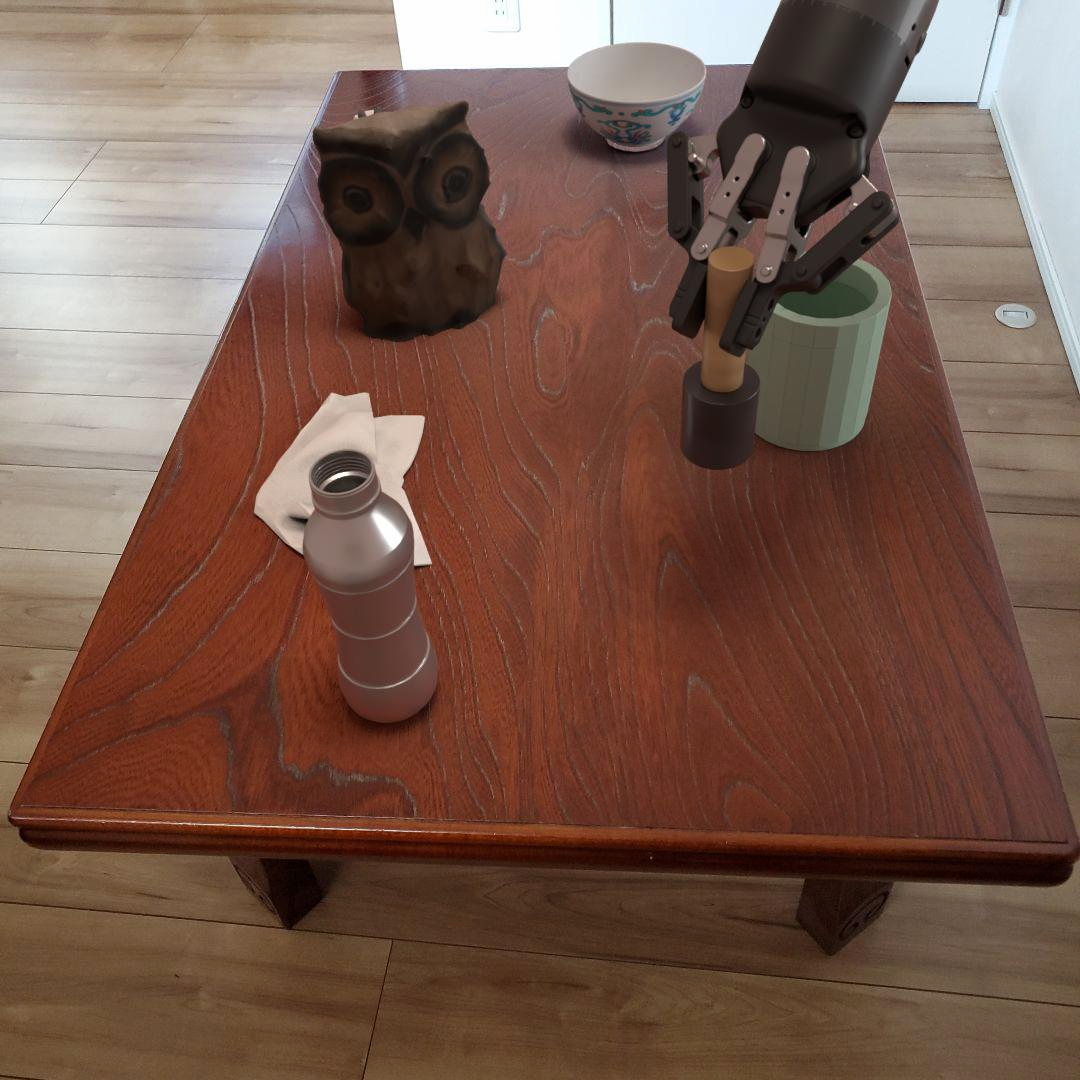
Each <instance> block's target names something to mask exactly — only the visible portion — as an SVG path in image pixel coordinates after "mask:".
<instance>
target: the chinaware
mask: <svg viewBox="0 0 1080 1080" xmlns="http://www.w3.org/2000/svg"><path fill="white" fill-rule="evenodd" d="M706 78H707V67H706V64H705V62H704V61H703V60H702V59H701V58H700V57H699V56H698V55H697V54H695V53H693V52H692V51H689V50H687V49H684V48H683V47H682V48H681V47H679V46H677V45H676V46H675V45H671V44H667V43H660V42H649V41H648V42H647V41H635V42H622V43H621V42H620V43H614V44H608V45H604V46H600V47H597V48H594V49H592V50H588V51H587V52H585V53H582V54H581V55H580V56H578V57H577V58H575V59H574V60H573V61H572V62H571V63H570V64H569V66H568V68H567V70H566V79H567V80H566V81H567V84H568V89H569V92H570V95H571V98H572V101H573V104H574V106H575V107H576V110H577V111H578V113H579V114H580V116H581V117H582V119H583V120H584V122H585V123H586V124H587V125H588V126H589V127H590V128H591V129H592V130H594V131H595V132H596V133H597V134H599V135H600V136H602V137H604V138H605V139H606V138H607V139H608V140H610V141H611V142H613V143H616V144H618V145H622V146H625V147H626V146H628V147H647V146H650V145H653V144H656V143H658V142H660V141H661V140H662V139H663V138H664V137H665V138H666V137H668V136H669V135H672V134H673V133H675V132H676V130H678V129H679V128H680V127H681V126H682V125H683V124H684V123H685V121H687V119H688V118H689V117H690V115H691V114H692V113H693V112H694V109H695V108H696V106H697V104H698V102H699V99H700V97H701V95H702V92H703V89H704V86H705V82H706Z"/></svg>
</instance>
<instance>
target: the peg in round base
mask: <svg viewBox="0 0 1080 1080" xmlns="http://www.w3.org/2000/svg"><path fill="white" fill-rule="evenodd" d="M755 263H756V261H755V256H754V254H753V253H752V252H751V251H750V250H748V249H746V248H744V247H740V246H737V247H734V246H727V247H721V248H718V249H716V250H714V251H713V252H711V254H710V255H709V257H708V270H707V286H706V302H705V318H704V321H703V335H702V351H701V360H699V361H697V362H695V363H693V364H692V365H691V366H689V367H688V368H687V369H686V371H685V373H684V374H683V377H682V391H681V393H682V394H681V395H682V396H681V414H680V435H679V448H680V451H681V454H682V455H683V456H684V458H685V459H686V460H688V461H689V462H690V463H691V464H693V465H695V466H697V467H699V468H702V469H705V470H712V471H724V470H725V471H726V470H731V469H734V468H737V467H739V466H741V465H743V464H744V463H746V462H747V461H748V460H749V459H750V458H751V456H752V454H753V452H754V446H755V436H756V433H755V428H756V419H757V410H758V401H759V392H760V383H761V382H760V378H759V375H758V373H757V372H756V371H755V370H754V369H753V368H752V367H751V366H750V365H748V364H746V356H747V349H746V350H745V352H744V354H743V355H742V356H741V357H736V356H734V355H731V354H729V353H727V352H725V351H724V350H722V349H721V348H719V341H720V338H721V335H722V333H723V331H724V329H725V327H726V324H727V322H728V320H729V318H730V315H731V313H732V311H733V309H734V307H735V304H736V302H737V300H738V298H739V296H740V293H741V291H742V289H743V287H744V284H745V282H746V281H747V280H749V281H752V282H753V280H754V273H755Z"/></svg>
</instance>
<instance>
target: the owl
mask: <svg viewBox="0 0 1080 1080" xmlns="http://www.w3.org/2000/svg"><path fill="white" fill-rule="evenodd" d="M469 110H470V103H469V102H468V101H467V100H460V101H453V102H452V101H451V102H444V103H441V104H440V103H439V104H433V105H418V106H410V107H403V108H400V109H397V110H395V111H382V112H379V113H375V114H372V115H369V116H365V117H361V118H357V119H354V118H353V119H354V120H353V119H350V120H349V121H346V122H343V123H339V124H336V125H331V126H329V127H322V126H318V125H316V126H314V128H313V130H312V141H313V144H314V147H315V149H316V151H317V153H318V157H319V159H320V170H319V173H318V175H317V176H318V177H317V182H316V183H317V185H316V187H317V189H318V192H319V200H320V202H321V204H322V205H323V210H322V215H323V217H324V219H325V221H326V222H327V224H328V226H329V228H330V230H331V231H332V234H333V235H334V237H335V238H336V239H337V241H338V243H339V246H340V248H341V251H342V252H341V253H342V255H341V256H342V257H341V281H342V291H343V297H344V300H345V302H346V304H347V305H348V306H349V307H350V308H352V309H354V310H356V311H357V312H358V314H359V316H360V317H361V321H362V322H361V323H362V332H363V334H364V335H365V336H366V337H369V338H377V339H379V340H387V341H393V342H407V341H410V340H412V339H414V338H415V337H418V336H421V335H422V334H426V335H428V336H430V337H431V336H434V335H437V334H438V333H440V332H442V331H445V330H450V329H452V328H453V329H456V330H461V329H463V328H465V327H466V326H467V325H469V324H471V323H473V322H475V321H476V320H478V317H479V316H480V315H481V314H483V312H485V311H486V310H487V309H489V308H490V307H491V306H493V305H495V304H497V298H496V292H497V288H498V285H499V281H500V277H501V271H502V267H503V266H502V265H503V262H504V259H505V258H506V256H507V254H508V253H507V250H506V249H505V247H504V245H503V243H502V241H501V238H500V236H499V235H498V233H497V229H496V228H495V227H494V225H493V222H492V220H491V219H490V218H489V215H488V214H487V213H486V210H485V205H484V204H482V201H483V198H484V197H485V195H486V194H487V191H488V190H489V187H490V186H491V184H492V183H491V180H490V174H491V171H490V165H489V163H488V160H487V159H488V158H487V157H486V154H485V148H483V147H482V146H481V145H480V144H479V142H478V141H477V138H476V137H475V136H474V134H473V132H472V131H471V129H470V128H469V125H468V123H467V115H468V113H469Z"/></svg>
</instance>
